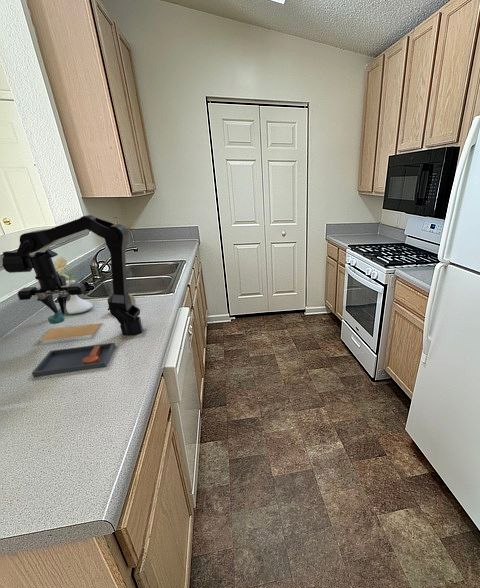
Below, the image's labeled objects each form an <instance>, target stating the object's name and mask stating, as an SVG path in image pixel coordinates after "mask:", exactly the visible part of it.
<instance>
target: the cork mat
mask: <svg viewBox="0 0 480 588" xmlns="http://www.w3.org/2000/svg"><path fill="white" fill-rule="evenodd" d="M101 325H102V323H92V324H84V325H75V326H66V327H65V326H64V327H58V328H57V327H56V328H50V329H49V330H48V331H47V332H46V333H45V334H44V335H43V336H42V337H41V338H40V339H39V342H44V341H52V340H61V339H69V338H70V339H71V338H78V337H85V336H86V337H87V336H94V335H95V334H96V333H97V331H98V329H99V328H100V326H101Z"/></svg>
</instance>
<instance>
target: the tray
mask: <svg viewBox="0 0 480 588" xmlns="http://www.w3.org/2000/svg"><path fill="white" fill-rule="evenodd" d="M94 346H101V349H102V352H101V353H100V355H99V360H100V362H99V363H92V364H83V361H82V360H83V359H84V358H86V357H88V356H89V355H90V353H91V351H92V350H93V348H94ZM116 347H117V345H116V342H108V343H101V344H93V345H92V344H91V345H85V346H77V347H69V348H61V349H60V348H59V349H54V350H53V349H52V350H50V351H49V352H48V353H47V354H46V355H45V357H44V358H42V360H41V361H40V362H39V363H38V365H37V366H36V367H35V368H34V369H33V371H32V372H31V375H32V377H33V378H39V377H46V376H52V375H59V374H67V373H74V372H80V371H88V370H95V369H103V368H106V367H107V366H108V364H109V362H110V359H111V358H112V356H113V353H114V352H115V350H116Z"/></svg>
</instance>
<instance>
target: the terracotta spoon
mask: <svg viewBox="0 0 480 588" xmlns="http://www.w3.org/2000/svg"><path fill="white" fill-rule="evenodd" d="M101 352H102V349H101V346H94V348H93V350H92V351H91V353H90V355H89V356H88V357H86V358H84V359H83V360H82V361H83V364H92V363H99V362H100V360H99V355H100V353H101Z"/></svg>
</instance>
